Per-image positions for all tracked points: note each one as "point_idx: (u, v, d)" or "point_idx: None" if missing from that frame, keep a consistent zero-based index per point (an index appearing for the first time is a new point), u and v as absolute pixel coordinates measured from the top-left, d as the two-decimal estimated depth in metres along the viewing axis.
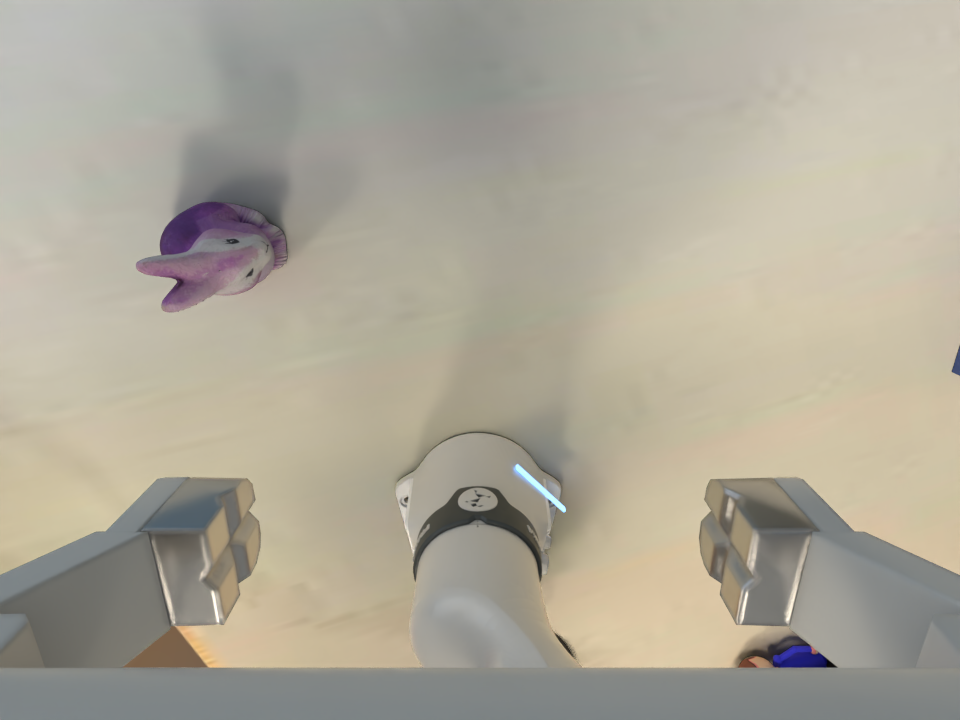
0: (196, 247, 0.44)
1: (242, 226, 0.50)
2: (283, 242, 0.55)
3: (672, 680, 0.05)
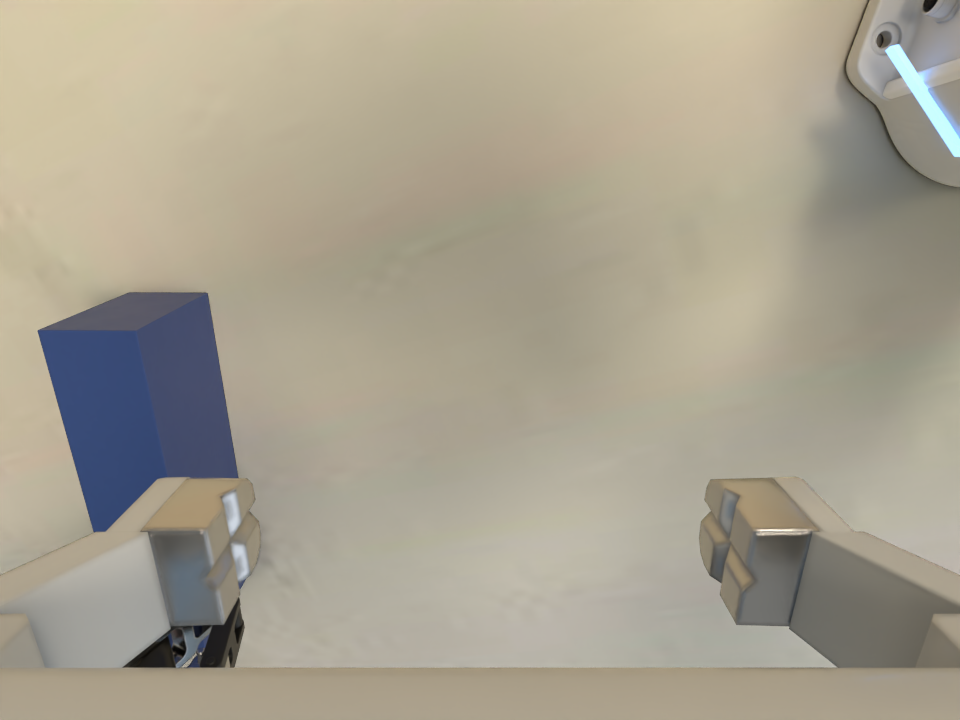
0: None
1: None
2: None
3: (672, 680, 0.05)
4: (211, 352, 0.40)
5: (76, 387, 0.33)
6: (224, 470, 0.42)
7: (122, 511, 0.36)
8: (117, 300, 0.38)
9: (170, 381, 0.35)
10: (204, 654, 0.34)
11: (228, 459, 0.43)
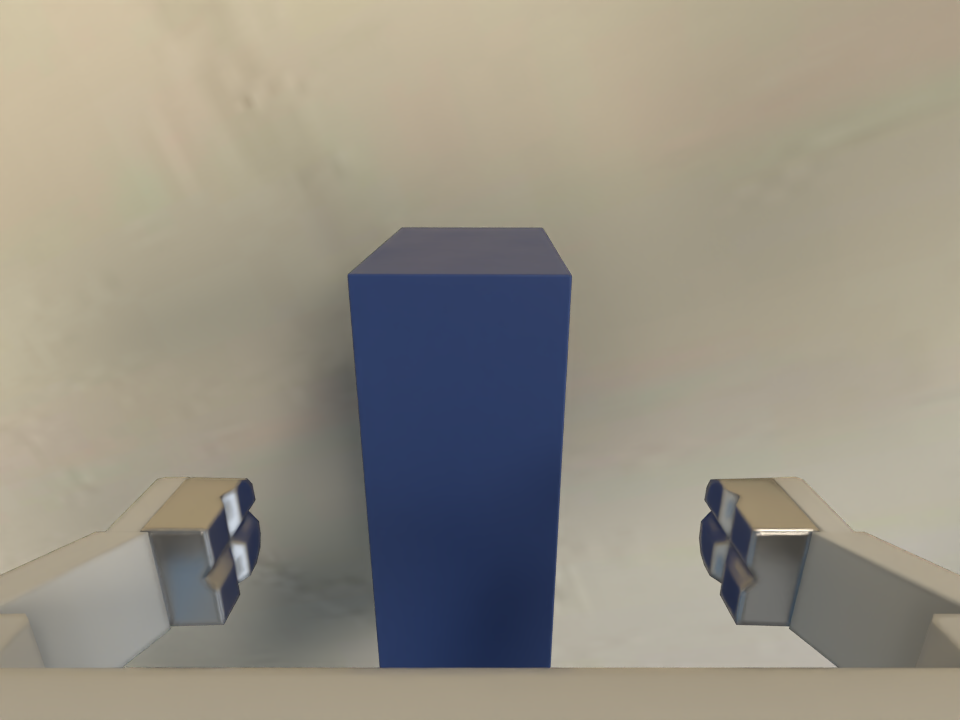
0: None
1: None
2: None
3: (672, 680, 0.05)
4: None
5: (407, 402, 0.15)
6: None
7: (446, 645, 0.18)
8: (406, 235, 0.20)
9: None
10: None
11: None
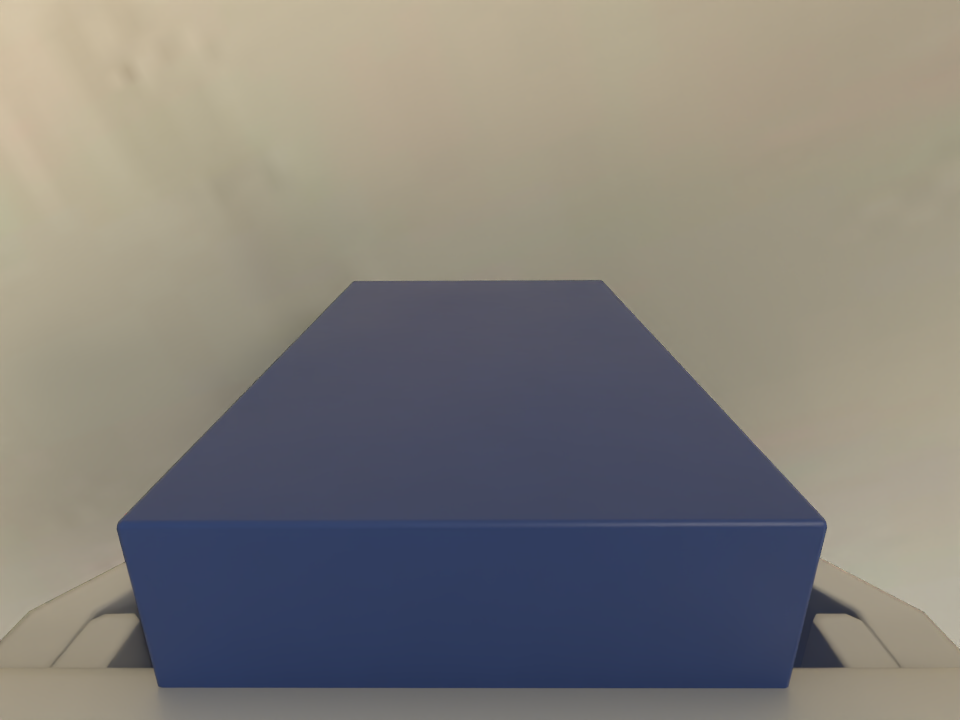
0: None
1: None
2: None
3: None
4: None
5: None
6: None
7: None
8: (355, 306, 0.10)
9: None
10: None
11: None
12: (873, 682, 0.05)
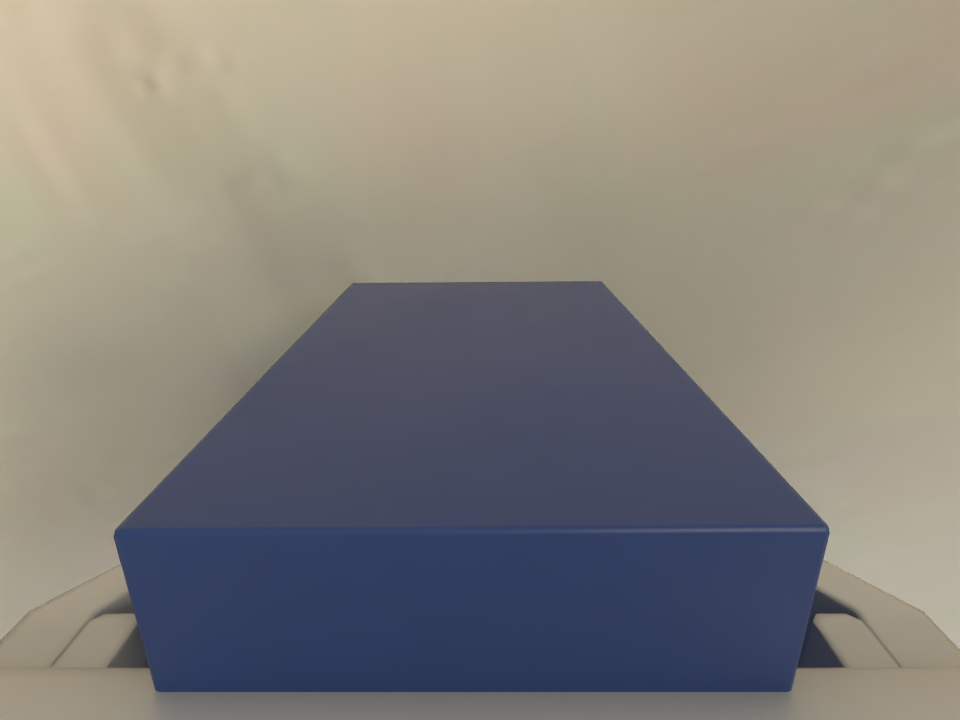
0: None
1: None
2: None
3: None
4: None
5: None
6: None
7: None
8: (354, 308, 0.10)
9: None
10: None
11: None
12: (872, 682, 0.05)
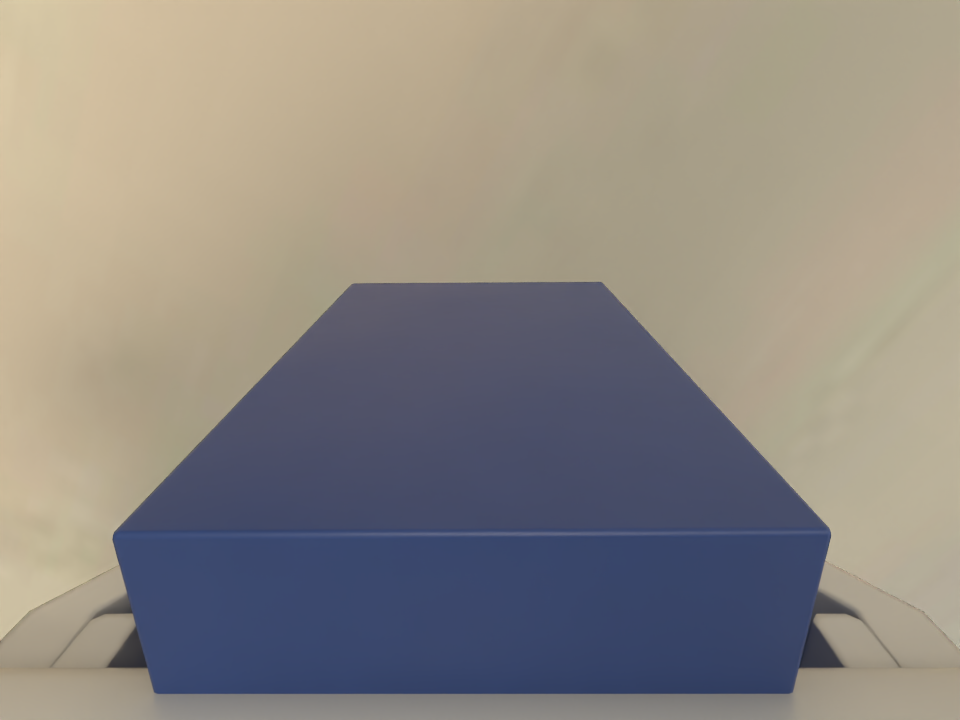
0: None
1: None
2: None
3: None
4: None
5: None
6: None
7: None
8: (354, 309, 0.10)
9: None
10: None
11: None
12: (873, 682, 0.05)
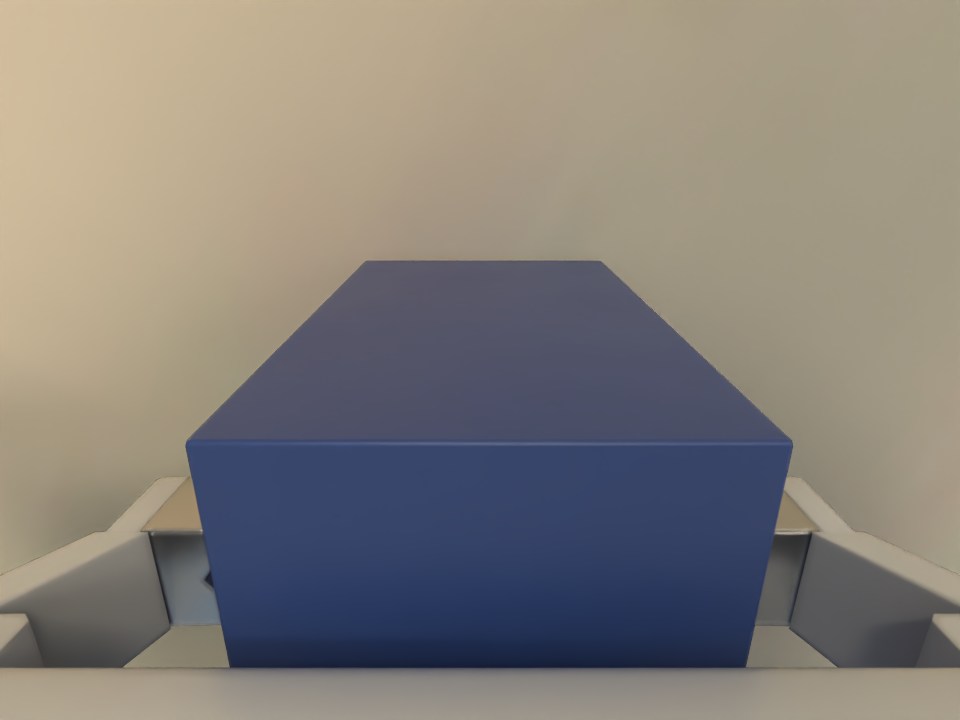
0: None
1: None
2: None
3: (672, 680, 0.05)
4: None
5: None
6: None
7: None
8: (370, 281, 0.11)
9: None
10: None
11: None
12: (873, 682, 0.05)
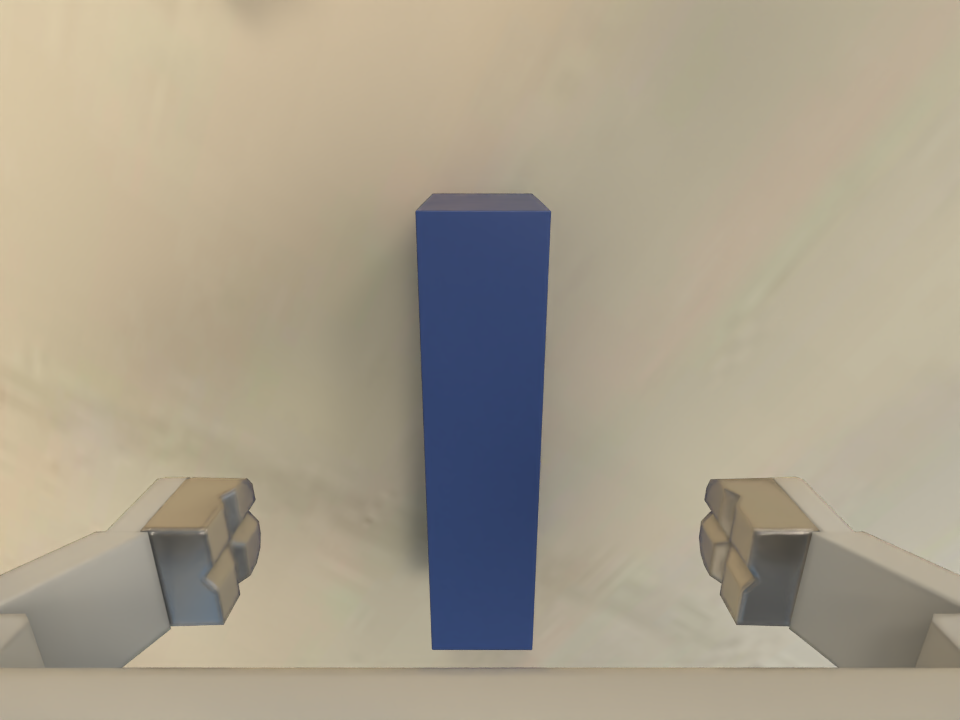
0: None
1: None
2: None
3: (672, 680, 0.05)
4: None
5: (449, 293, 0.24)
6: None
7: (470, 465, 0.27)
8: (439, 197, 0.29)
9: None
10: None
11: None
12: (873, 682, 0.05)
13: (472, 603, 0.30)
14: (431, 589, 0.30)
